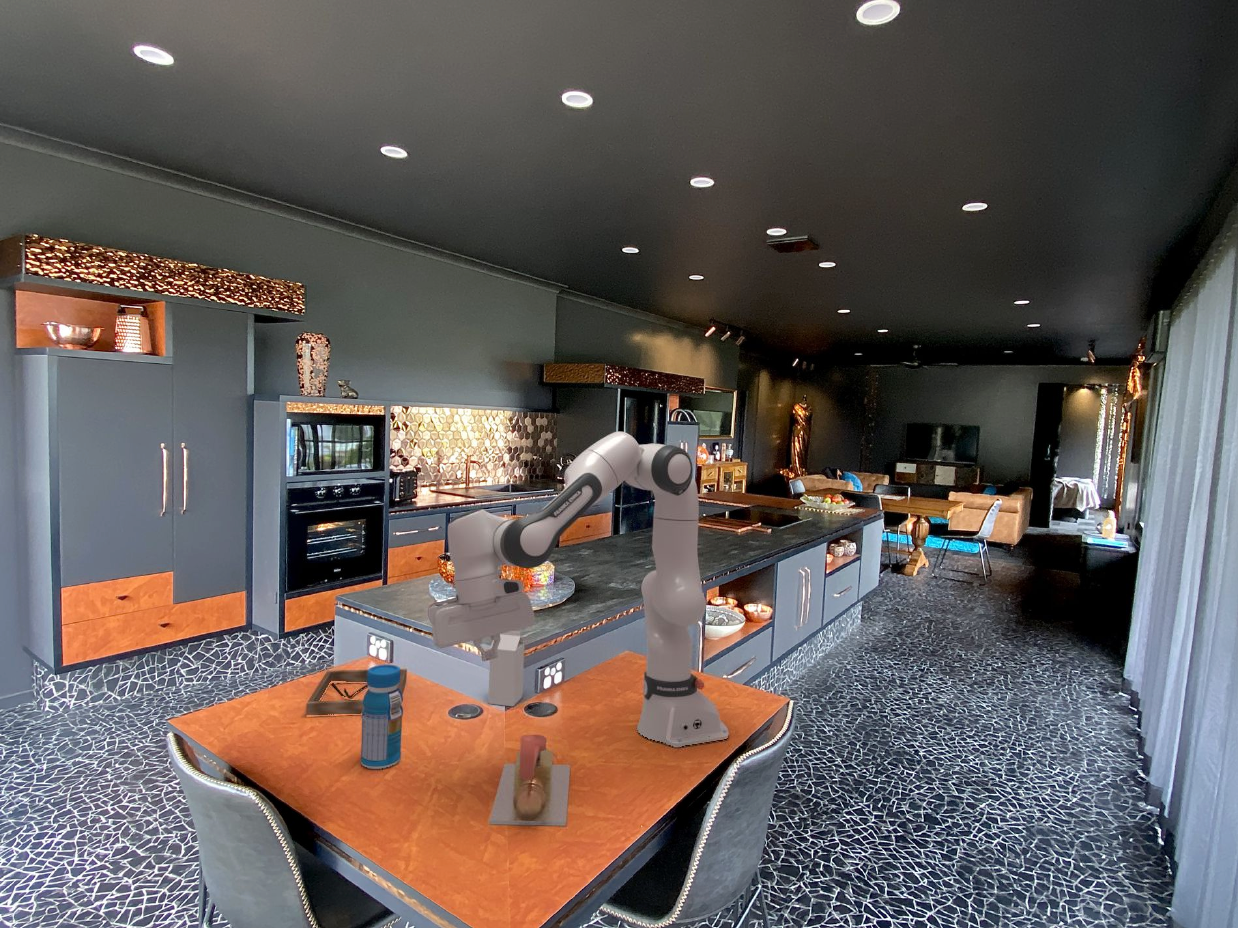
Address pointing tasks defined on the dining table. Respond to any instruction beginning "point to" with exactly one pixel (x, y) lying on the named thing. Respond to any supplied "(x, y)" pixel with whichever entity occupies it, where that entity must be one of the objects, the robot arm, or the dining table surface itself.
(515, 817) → the valve body
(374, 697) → the beverage bottle
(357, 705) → the glasses tray
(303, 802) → the dining table surface
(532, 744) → the lever
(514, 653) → the milk carton
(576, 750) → the dining table surface
